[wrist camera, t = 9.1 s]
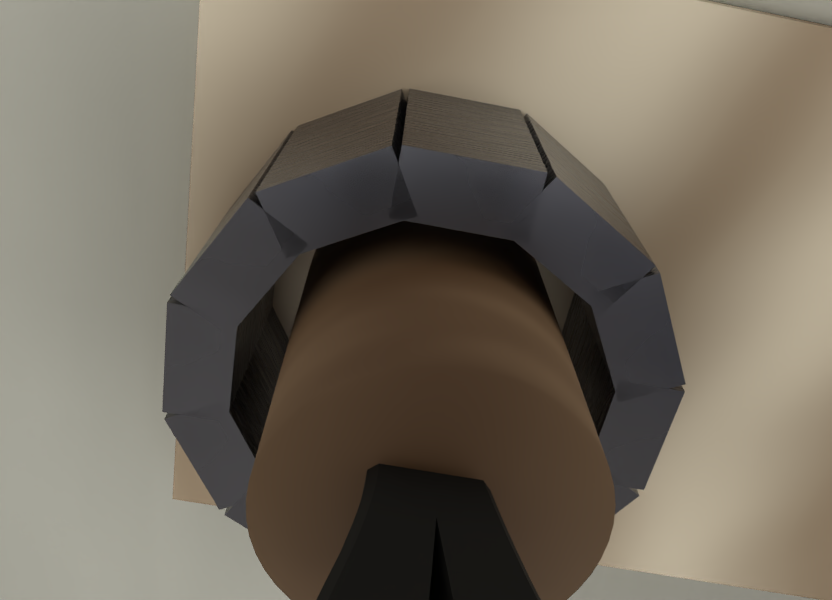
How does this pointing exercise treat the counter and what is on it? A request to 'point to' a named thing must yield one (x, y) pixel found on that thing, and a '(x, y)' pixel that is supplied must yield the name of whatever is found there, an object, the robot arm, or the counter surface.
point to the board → (639, 202)
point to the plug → (428, 404)
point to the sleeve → (431, 205)
